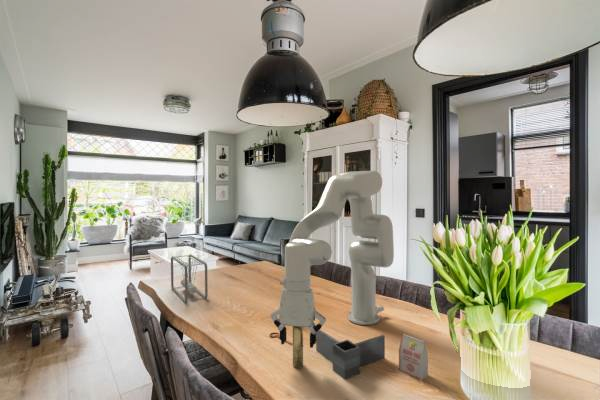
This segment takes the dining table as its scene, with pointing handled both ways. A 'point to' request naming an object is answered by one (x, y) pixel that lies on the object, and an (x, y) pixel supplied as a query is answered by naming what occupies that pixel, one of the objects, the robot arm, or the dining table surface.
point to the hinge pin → (297, 347)
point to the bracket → (350, 353)
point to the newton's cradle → (185, 282)
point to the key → (279, 338)
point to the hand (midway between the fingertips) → (297, 343)
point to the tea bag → (413, 357)
